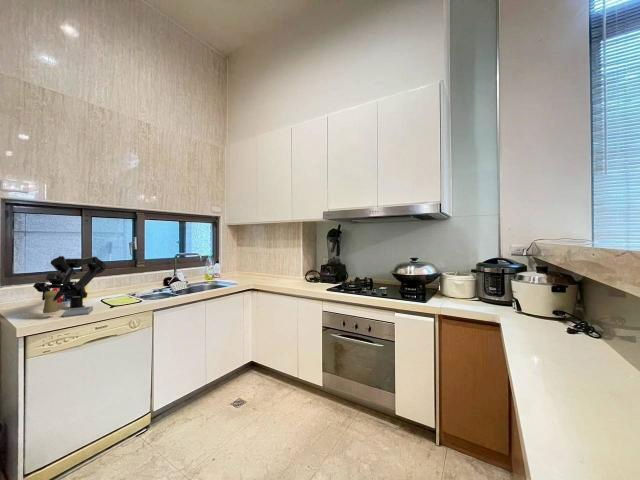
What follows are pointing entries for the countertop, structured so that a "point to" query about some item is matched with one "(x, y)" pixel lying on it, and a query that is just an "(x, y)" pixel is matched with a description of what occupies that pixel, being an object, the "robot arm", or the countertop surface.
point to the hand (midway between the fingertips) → (48, 299)
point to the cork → (50, 302)
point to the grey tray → (78, 311)
